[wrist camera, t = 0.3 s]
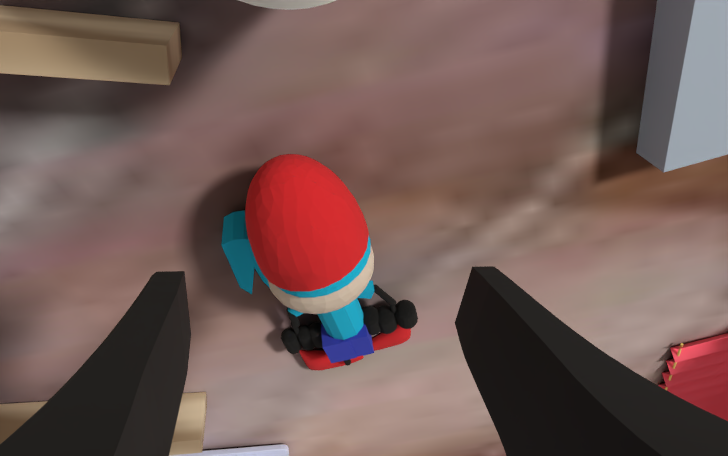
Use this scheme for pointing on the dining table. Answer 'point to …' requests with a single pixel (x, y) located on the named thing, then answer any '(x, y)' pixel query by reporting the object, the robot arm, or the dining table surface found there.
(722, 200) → the dining table surface
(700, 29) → the slate box
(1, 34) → the wooden tray
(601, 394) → the robot arm
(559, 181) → the dining table surface
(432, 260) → the dining table surface
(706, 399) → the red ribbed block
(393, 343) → the toy figure
